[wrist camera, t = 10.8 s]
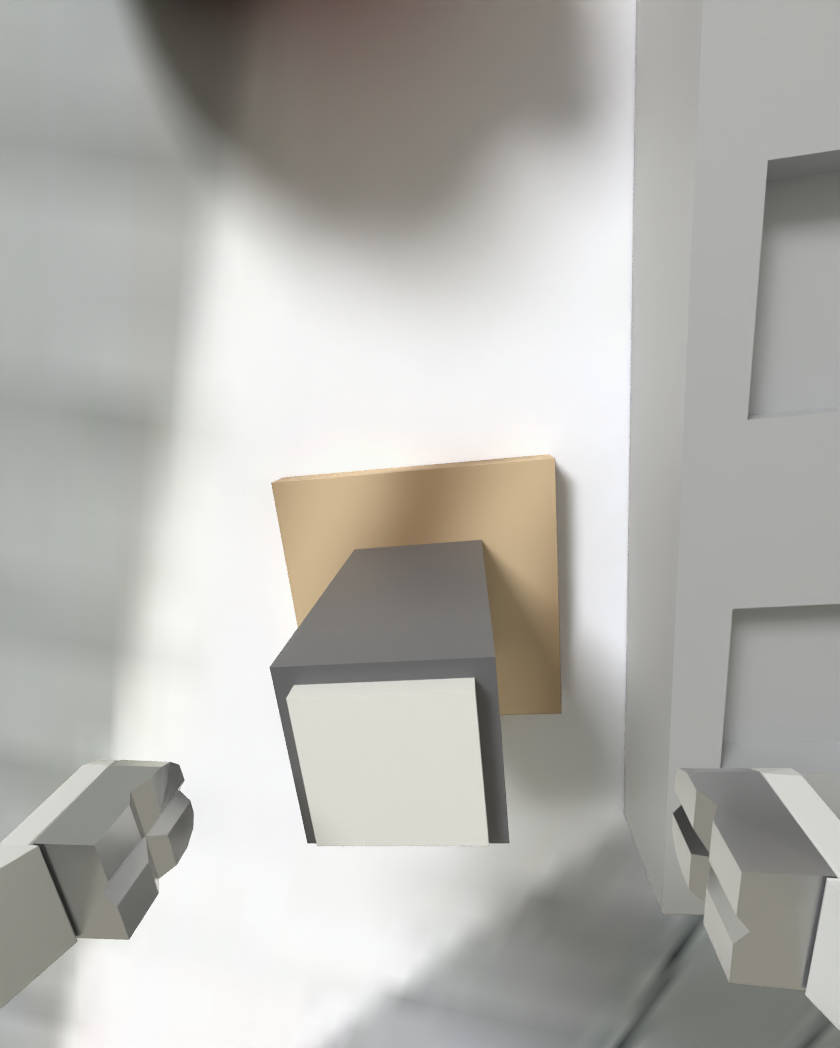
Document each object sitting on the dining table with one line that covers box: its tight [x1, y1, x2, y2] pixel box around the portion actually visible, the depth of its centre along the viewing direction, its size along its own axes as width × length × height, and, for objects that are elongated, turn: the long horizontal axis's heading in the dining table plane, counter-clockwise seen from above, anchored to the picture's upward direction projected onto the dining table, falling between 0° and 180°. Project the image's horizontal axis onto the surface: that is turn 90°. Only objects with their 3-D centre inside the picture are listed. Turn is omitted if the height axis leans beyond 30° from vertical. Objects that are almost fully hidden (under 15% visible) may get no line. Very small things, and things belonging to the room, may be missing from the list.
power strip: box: [624, 0, 840, 915], centre depth 12 cm, size 8×32×4 cm, turn 5°
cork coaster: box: [271, 455, 561, 715], centre depth 16 cm, size 9×9×1 cm
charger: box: [270, 540, 509, 846], centre depth 12 cm, size 4×4×7 cm
